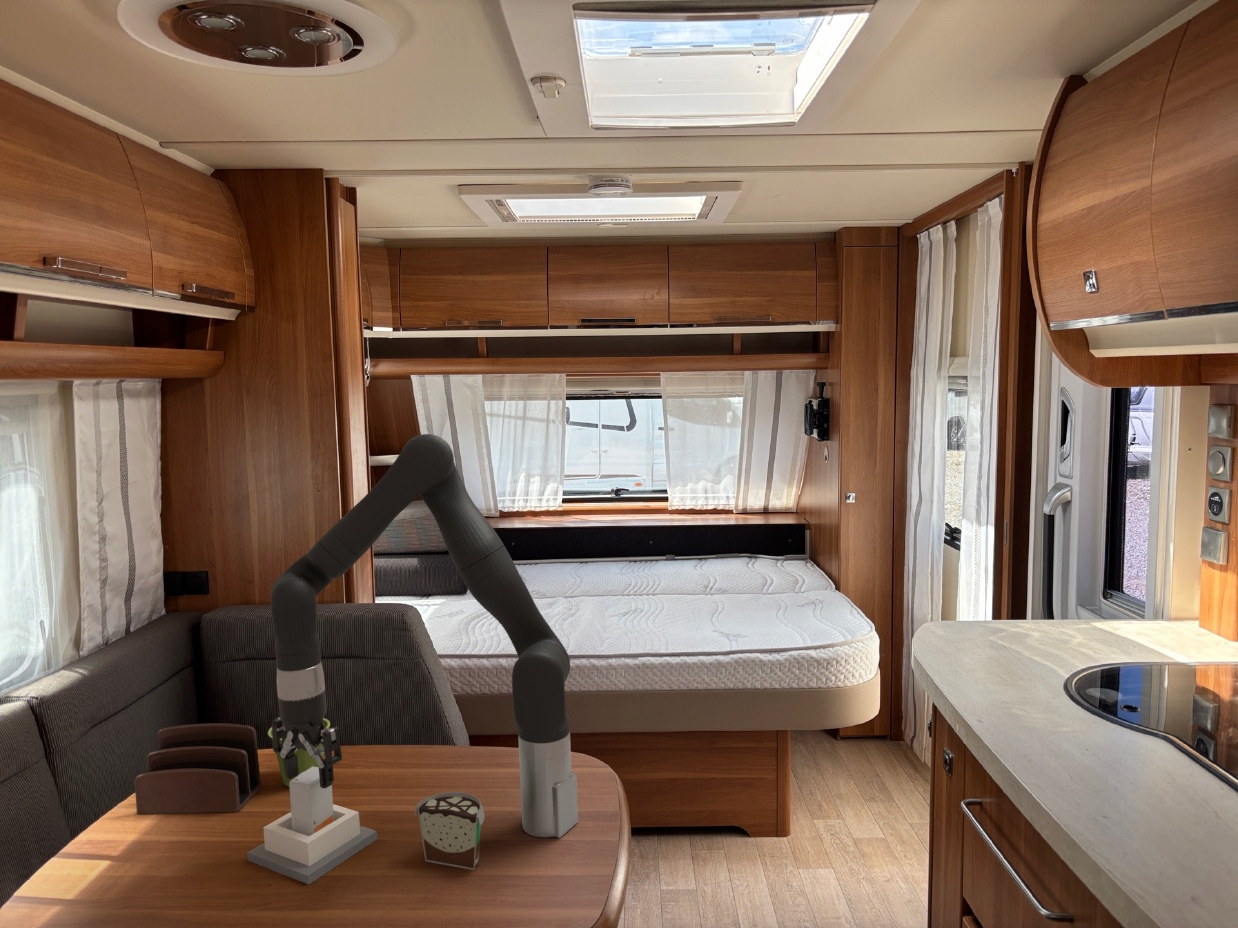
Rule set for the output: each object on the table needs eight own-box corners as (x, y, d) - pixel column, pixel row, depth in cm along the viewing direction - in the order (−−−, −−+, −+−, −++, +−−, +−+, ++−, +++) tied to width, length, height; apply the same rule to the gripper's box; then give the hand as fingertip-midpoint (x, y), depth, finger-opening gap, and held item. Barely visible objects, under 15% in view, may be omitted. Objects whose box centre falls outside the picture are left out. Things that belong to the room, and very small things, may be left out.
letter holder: (164, 790, 170) (158, 722, 168) (262, 787, 169) (257, 720, 168) (136, 815, 160) (129, 744, 158) (239, 813, 159) (234, 741, 158)
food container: (500, 851, 143) (497, 795, 142) (482, 871, 138) (479, 813, 137) (437, 840, 147) (433, 786, 146) (417, 859, 142) (414, 803, 141)
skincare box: (313, 852, 142) (308, 784, 141) (292, 848, 144) (287, 781, 142) (336, 833, 148) (331, 768, 147) (316, 829, 149) (311, 765, 148)
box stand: (377, 838, 148) (375, 809, 148) (308, 884, 135) (306, 852, 135) (318, 819, 156) (316, 790, 155) (247, 860, 143) (245, 829, 142)
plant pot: (321, 793, 166) (317, 738, 165) (261, 795, 166) (257, 740, 165) (341, 766, 177) (338, 714, 176) (286, 767, 178) (282, 716, 176)
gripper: (348, 688, 142) (355, 779, 144) (291, 677, 149) (298, 764, 151) (313, 704, 136) (321, 799, 137) (254, 691, 143) (263, 783, 144)
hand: (309, 781), depth 144 cm, fingers open, 8 cm apart
